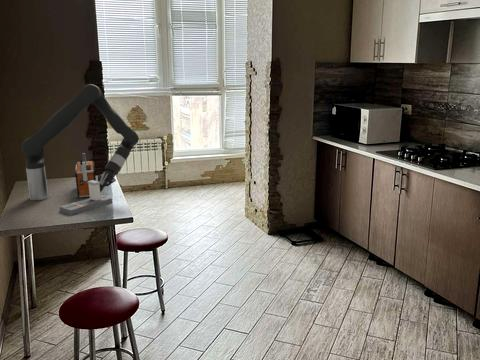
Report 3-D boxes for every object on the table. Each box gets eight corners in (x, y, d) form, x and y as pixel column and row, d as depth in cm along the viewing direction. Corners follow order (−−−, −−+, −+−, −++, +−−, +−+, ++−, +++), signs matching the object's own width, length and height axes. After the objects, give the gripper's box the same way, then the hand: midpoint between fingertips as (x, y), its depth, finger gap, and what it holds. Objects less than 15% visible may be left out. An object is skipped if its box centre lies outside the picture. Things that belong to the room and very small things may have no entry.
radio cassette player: (97, 197, 248) (94, 161, 243) (77, 199, 245) (73, 163, 240) (96, 184, 275) (93, 152, 270) (78, 186, 271) (74, 153, 266)
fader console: (71, 215, 219) (70, 209, 218) (59, 211, 225) (59, 206, 224) (112, 202, 237) (111, 198, 237) (100, 199, 243) (100, 195, 243)
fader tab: (96, 200, 232) (94, 183, 229) (89, 198, 235) (87, 181, 233) (101, 199, 234) (99, 181, 232) (94, 197, 238) (92, 180, 235)
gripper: (103, 158, 243) (85, 186, 237) (118, 161, 235) (101, 189, 229) (112, 166, 248) (95, 193, 242) (127, 169, 241) (110, 197, 234)
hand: (97, 191), depth 235 cm, fingers closed
